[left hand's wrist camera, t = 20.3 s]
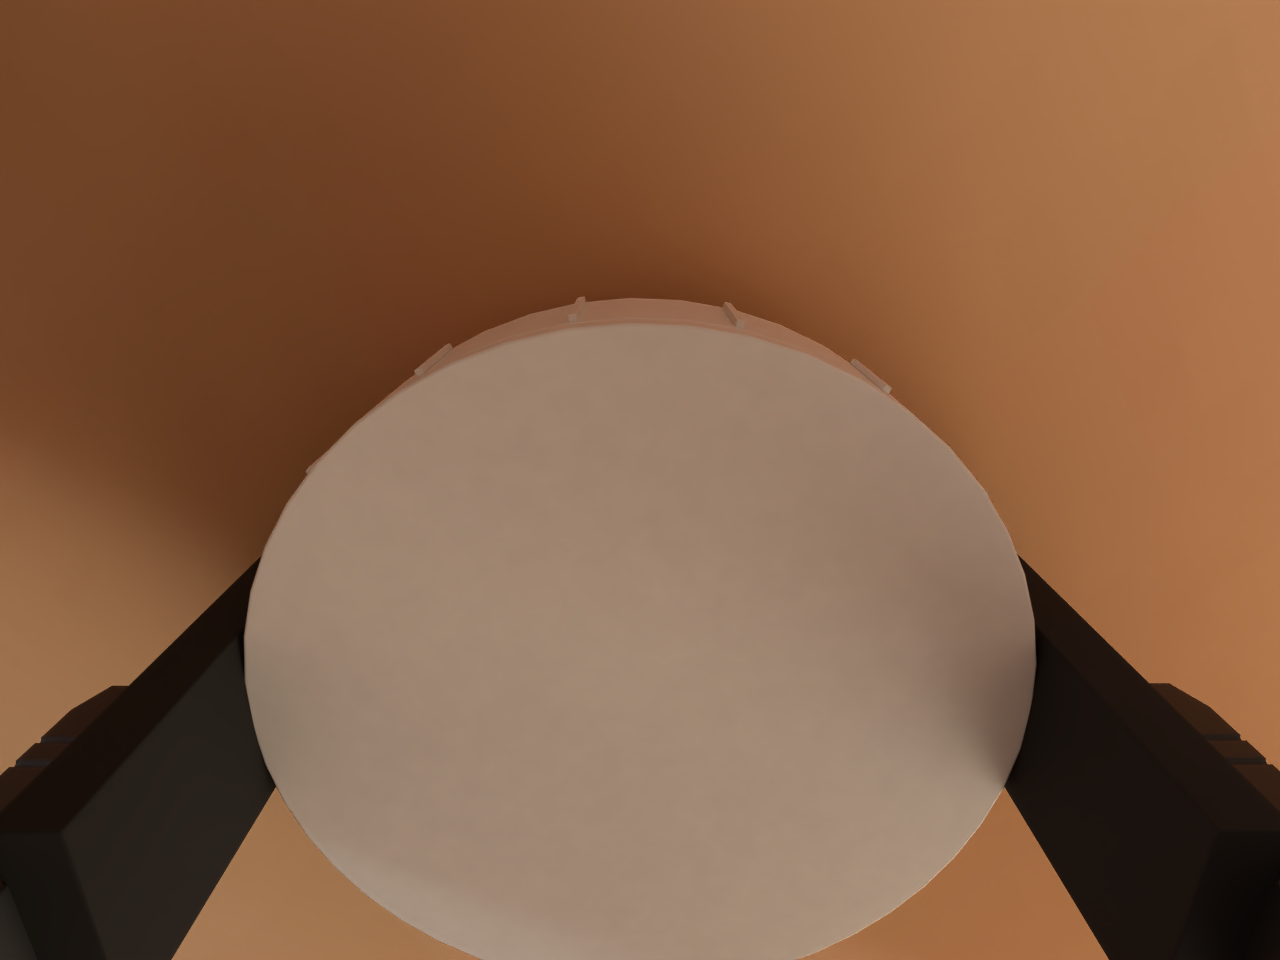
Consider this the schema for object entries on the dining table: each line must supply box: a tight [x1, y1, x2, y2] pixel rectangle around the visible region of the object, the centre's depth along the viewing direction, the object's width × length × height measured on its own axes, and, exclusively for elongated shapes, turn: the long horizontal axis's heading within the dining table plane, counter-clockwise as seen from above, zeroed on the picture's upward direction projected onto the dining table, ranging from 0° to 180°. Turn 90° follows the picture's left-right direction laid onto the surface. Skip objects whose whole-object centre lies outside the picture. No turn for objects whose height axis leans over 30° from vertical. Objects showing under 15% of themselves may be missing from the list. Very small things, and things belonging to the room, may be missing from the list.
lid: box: [244, 296, 1036, 960], centre depth 12 cm, size 11×11×2 cm
